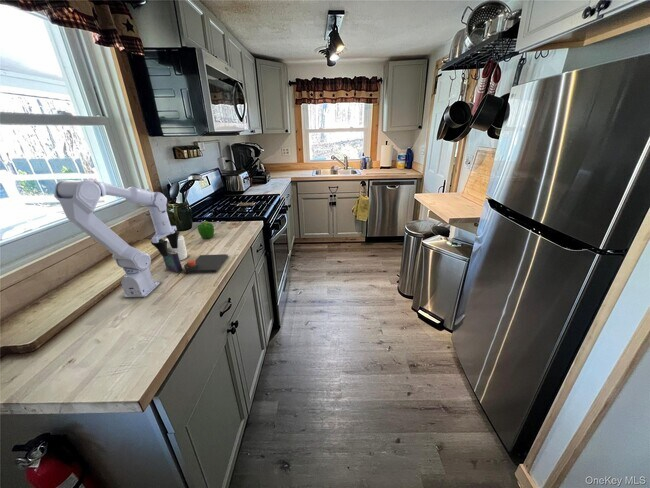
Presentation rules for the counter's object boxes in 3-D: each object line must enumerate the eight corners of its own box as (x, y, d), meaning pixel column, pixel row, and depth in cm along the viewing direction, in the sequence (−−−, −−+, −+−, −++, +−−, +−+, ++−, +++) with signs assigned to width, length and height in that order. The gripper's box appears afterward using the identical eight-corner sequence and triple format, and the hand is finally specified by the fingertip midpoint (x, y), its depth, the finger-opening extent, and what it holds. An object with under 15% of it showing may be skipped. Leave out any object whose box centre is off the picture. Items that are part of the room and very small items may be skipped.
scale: (215, 272, 110) (214, 266, 108) (183, 273, 110) (181, 267, 109) (228, 256, 124) (226, 251, 123) (199, 257, 124) (197, 252, 123)
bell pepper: (198, 237, 149) (194, 220, 145) (213, 233, 154) (209, 217, 150) (202, 241, 143) (198, 224, 139) (217, 237, 147) (213, 221, 143)
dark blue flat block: (165, 269, 114) (158, 247, 110) (171, 266, 116) (164, 244, 112) (179, 273, 110) (172, 250, 106) (185, 270, 113) (179, 247, 109)
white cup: (181, 262, 120) (175, 242, 116) (166, 261, 122) (160, 241, 118) (192, 254, 127) (187, 236, 123) (178, 253, 129) (173, 235, 125)
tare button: (193, 266, 110) (192, 262, 109) (186, 266, 110) (185, 263, 109) (196, 263, 113) (195, 259, 112) (190, 263, 113) (189, 259, 112)
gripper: (160, 227, 98) (170, 259, 103) (180, 215, 111) (187, 244, 116) (142, 227, 98) (152, 259, 103) (163, 216, 111) (172, 245, 117)
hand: (170, 251), depth 110 cm, fingers open, 7 cm apart
